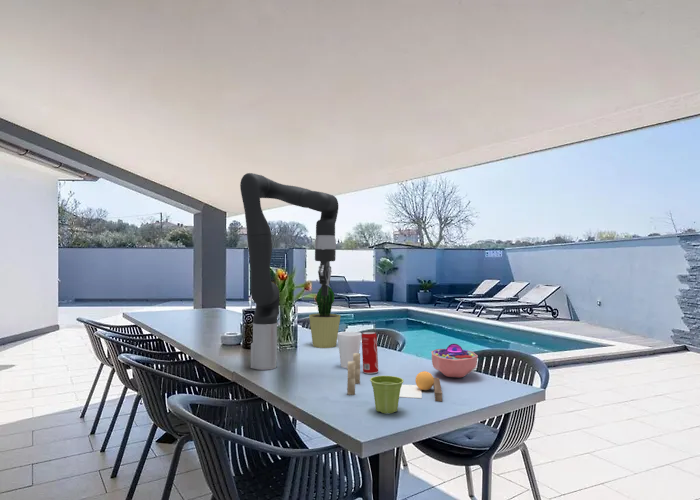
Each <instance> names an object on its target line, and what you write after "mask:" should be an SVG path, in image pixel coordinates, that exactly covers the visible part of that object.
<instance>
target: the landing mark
mask: <svg viewBox="0 0 700 500" xmlns="http://www.w3.org/2000/svg"><path fill="white" fill-rule="evenodd" d="M422 391H423V390H421V389H420V388H418V386H417V385H416V384H403V383H402V386H401V389H400V395H399V398H408V399H422V398H423V396H422V395H423V393H422Z"/></svg>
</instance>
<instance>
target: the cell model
mask: <svg viewBox="0 0 700 500" xmlns="http://www.w3.org/2000/svg"><path fill="white" fill-rule="evenodd" d="M430 353H431V365H432V367H433V369H435V370H437V371H438V372H440V373H441V374H443V375H444V376H446V377H447V378H459V379H460V378H465V376H467V375H469V374H470V373H472V372H473V371H474V370H475V369H476V368H477V365H478V359H479V358H478V357H479V356H478V354H476V353H475V352H474V351H472V350H466V349H464V348H462V346H460V344H457V343H450V344H449V345H448V346H447V347H446V348H438V349H434V350H431V352H430Z"/></svg>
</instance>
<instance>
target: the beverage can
mask: <svg viewBox="0 0 700 500" xmlns="http://www.w3.org/2000/svg"><path fill="white" fill-rule="evenodd" d="M377 337H378V336H377V332H376V331H364V332H362V333H361V355H362V356H361V357H362V358H361V359H362V372H363V374H367V375H370V374H371V375H372V374H377V373H378V372H379V357H378V356H379V355H378V338H377Z"/></svg>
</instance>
